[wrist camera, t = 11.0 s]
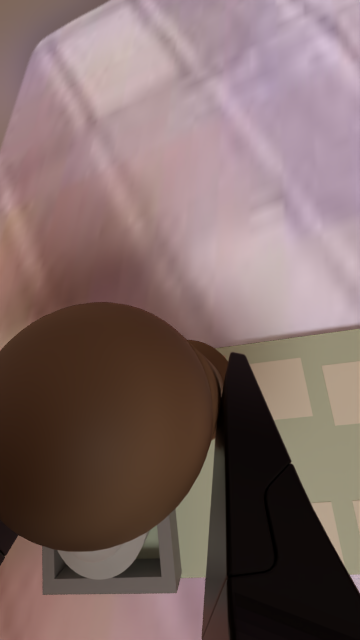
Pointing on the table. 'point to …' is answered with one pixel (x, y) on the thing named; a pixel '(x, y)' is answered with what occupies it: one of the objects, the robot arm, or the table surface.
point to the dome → (104, 559)
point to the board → (303, 448)
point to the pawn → (102, 424)
